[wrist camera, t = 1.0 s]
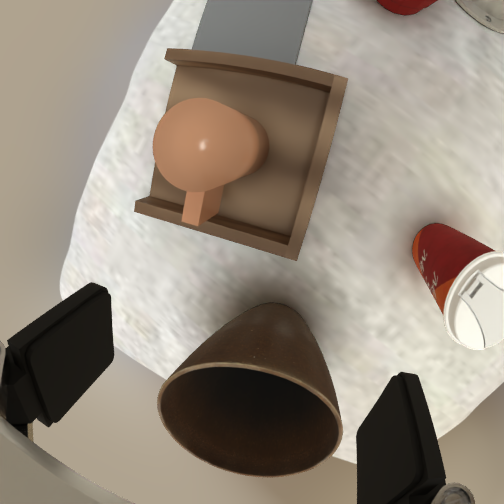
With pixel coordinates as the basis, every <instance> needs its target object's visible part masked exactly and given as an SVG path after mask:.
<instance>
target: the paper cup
mask: <svg viewBox="0 0 504 504" xmlns="http://www.w3.org/2000/svg"><path fill="white" fill-rule="evenodd" d="M412 254H413V258H414V261H415V263H416V265H417V267H418V269H419V271H420V273H421V275H422V276H423V278H424V280H425V282H426V284H427V285H428V287H429V289H430V291H431V293H432V295H433V297H434V298H435V300H436V302H437V304H438V306H439V308H440V310H441V312H442V314H443V316H444V325H445V328H446V331H447V333H448V334H449V336H450V337H451V338H452V339H453V340H454V341H455V342H457V343H458V344H461V345H464V346H465V347H467V348H470V349H474V350H483V349H484V348H485V349H486V348H489V347H491V346H494V345H496V344H498V343H499V342H501V341H502V340H504V252H501V251H495V250H493V249H491V248H489V247H488V246H486V245H484V244H482V243H480V242H478V241H477V240H475V239H473V238H471V237H469V236H467V235H465V234H463V233H461V232H459V231H457V230H455V229H453V228H451V227H449V226H447V225H444V224H440V223H434V224H430V225H427V226H425V227H424V228H423V229H422V230H420V232H419V233H418V234H417V236H416V237H415V240H414V242H413V247H412Z"/></svg>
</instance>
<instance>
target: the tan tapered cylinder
mask: <svg viewBox="0 0 504 504" xmlns="http://www.w3.org/2000/svg"><path fill="white" fill-rule="evenodd" d="M268 153H269V138H268V135H267V132H266V130H265V129H264V127H263V126H262V125H261V124H260V123H259V122H258V121H257V120H255V119H254V118H252V117H250V116H248V115H246V114H243V113H241V112H239V111H237V110H235V109H232V108H230V107H228V106H226V105H224V104H221V103H219V102H217V101H214V100H211V99H207V98H192V99H187V100H184V101H182V102H180V103H178V104H176V105H174V106H173V107H172V108H170V109H169V110H168V111H167V112H166V113H165V114H164V116H163V117H162V118H161V120H160V122H159V124H158V125H157V128H156V130H155V134H154V139H153V155H154V159H155V162H156V165H157V167H158V169H159V171H160V173H161V174H162V175H163V177H164V178H165V179H166V180H167V181H168V182H169V183H171V184H172V185H174V186H175V187H177V188H179V189H181V190H184V191H187V193H186V198H185V204H184V209H183V215H182V222H185V223H188V224H192V225H195V226H199V225H201V224H202V223H204V222H205V221H207V220H208V219H210V218H211V217H213V216H214V215H216V214H217V213H218V212H219V207H220V203H221V198H222V194H223V189H224V185H225V184H227V183H229V182H232V181H234V180H237V179H240V178H242V177H245V176H248V175H250V174H252V173H254V172H256V171H257V170H258V169H259V168H260V167H261V166H262V165H263V164H264V162H265V161H266V159H267V156H268Z"/></svg>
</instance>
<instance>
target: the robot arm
mask: <svg viewBox="0 0 504 504" xmlns="http://www.w3.org/2000/svg"><path fill="white" fill-rule="evenodd" d="M456 1H457V2H458V4H459V5H460V6H461V7H462V8H463V9H464V10H465V11H466V12H467V13H469V14H470V15H471V16H472V17H473V18H475V19H476V20H477V21H478V22H480V23H482V24H483V25H485V26H486V27H488V28H490V29H492V30H494V31H497V32H500V33H504V0H456ZM7 341H8V345H9V346H8V347H7V348H5V346H4V344H3V343H2V342H1V341H0V504H135V503H133V502H131V501H129V500H127V499H125V498H122V497H120V496H118V495H116V494H114V493H112V492H111V491H109V490H107V489H105V488H103V487H101V486H99V485H98V484H96V483H94V482H92V481H90V480H89V479H87V478H85V477H84V476H82V475H80V474H79V473H77V472H75V471H74V470H72V469H71V468H69V467H67V466H66V465H65V464H63V463H62V462H60V461H58V460H57V459H56V458H54V457H53V456H51V455H50V454H48V453H47V452H46V451H44V450H43V449H42V448H40V447H39V446H37V445H36V444H35V443H34V442H33V421H34V420H35V419H36V418H37V419H38V420H39V421H40V422H42V423H43V424H44V425H46V426H47V427H50V426H51V424H52V423H53V422H54V423H57V422H58V421H60V420H61V418H62V417H63V416H64V415H65V414H66V413H67V412H68V411H69V409H70V408H71V407H72V406H73V405H74V404H75V403H76V402H77V400H78V399H79V398H80V397H81V396H82V395H83V394H84V393H85V392H86V390H87V389H88V388H89V387H90V386H91V385H92V384H93V383H94V382H95V380H96V379H97V378H98V377H99V376H100V375H101V374H102V373H103V372H104V371H105V369H106V368H107V367H108V366H109V365H110V364H111V363H112V361H113V358H114V345H113V331H112V311H111V295H110V294H109V293H108V290H107V288H105V287H103V286H100V285H98V284H96V283H92V282H91V283H89V284H87V285H86V286H84V287H83V288H81V289H80V290H78V291H77V292H75V293H74V294H72V295H71V296H69V297H68V298H66V299H65V300H63V301H62V302H60V303H59V304H57V305H56V306H55V307H53V308H52V309H50V310H49V311H47V312H46V313H45V314H43V315H42V316H40V317H39V318H38V319H36V320H35V321H33V322H32V323H30V324H29V325H28V326H26V327H25V328H24V329H22V330H21V331H19V332H18V333H17V334H15V335H14V336H13V337H11V338H10V339H9V340H7ZM356 444H357V504H475V500H474V497H473V494H472V493H471V491H470V490H469V489H468V488H467V487H466V486H464V485H462V484H460V483H449V484H447V485H446V483H445V479H446V475H445V470H444V466H443V462H442V457H441V453H440V449H439V445H438V441H437V437H436V433H435V430H434V426H433V422H432V419H431V415H430V412H429V409H428V405H427V402H426V399H425V396H424V392H423V389H422V386H421V383H420V380H419V377H418V375H416V374H411V373H405V372H400V373H399V374H398V375H397V376H393V377H392V378H391V379H390V381H389V383H388V384H387V386H386V388H385V389H384V391H383V393H382V394H381V396H380V397H379V399H378V400H377V402H376V403H375V405H374V406H373V408H372V410H371V411H370V412H369V414H368V415H367V417H366V418H365V420H364V421H363V423H362V424H361V426H360V427H359V429H358V431H357V435H356Z"/></svg>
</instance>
